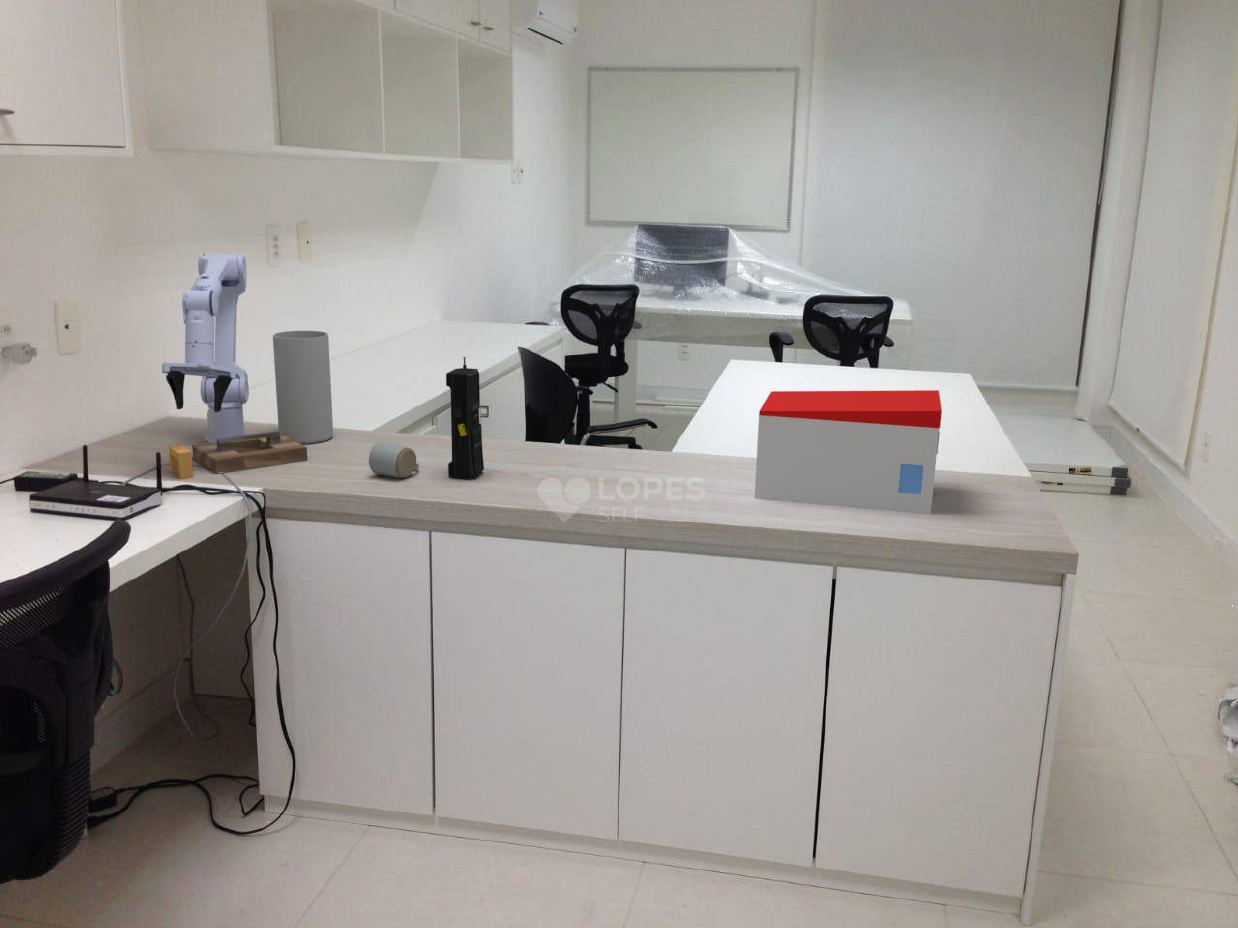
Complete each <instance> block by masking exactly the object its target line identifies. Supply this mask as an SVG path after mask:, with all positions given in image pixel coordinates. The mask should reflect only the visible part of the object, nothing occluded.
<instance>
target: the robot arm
mask: <svg viewBox="0 0 1238 928" xmlns="http://www.w3.org/2000/svg"><path fill="white" fill-rule="evenodd" d="M197 261H198V262H197V269H198V275H199V276H197V278H195V281H194V283H193V285H192V287H191V289H190V290H186V292H183V294H182V295H181V296H182V297H181V306H182V308H181V309H182V313H183V314H182V317H183V319H182V320H183V324H185V329H184V330H185V332H184V333H185V336H184V339H185V340H184V363H183V362H182V363H181V362H166V361H165V362H163V363H162V364H161V373H162V374H166V375H165V379H166V381H167V383H168V386H169V387H170V390H171V392H172V394H173V398H174V401H175V406H176V410H182V409H184V385H185V377H186V376H197V377H202V378H201V382H200V397H201V402H203V403H204V404H205V405H207V410H206V420H207V432H208V433H207V434H208V437H204V440H205V441H206V442H207V443H208V442H215V441H217V438H223V437H230V436H238V435H246V433H245V423H244V409H243V408H244V407H243V405H246V403H247V402H248V401H249V395H250V389H249V381H248V379H249V377H248V374H247V372H246V370H245V369H244V368H243V367H241V366H239V365H238V364H237V363H236V362H237V361H236V357H237V356H236V355H237V354H236V349H237V347H236V346H237V345H236V344H237V311H238V309H237V308H238V307H237V305H238V300H239V296H240V295H242V294H243V293H245V292H246V287H247V274H248V273H247V271H248V270H247V260H246V258H245V255H244V254H242V253H237V254H236V253H233V254H232V253H231V254H230V253H204V252H202V253H201V254H200V255H199V256H198V260H197Z"/></svg>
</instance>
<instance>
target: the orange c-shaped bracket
mask: <svg viewBox="0 0 1238 928" xmlns="http://www.w3.org/2000/svg"><path fill="white" fill-rule="evenodd" d="M167 449H168V458H169V468H170V470H169V471H170V472H171V473H176V472H178V477H179V478H178V479H180V480H183V479H191V478H194V469H193V455H192V451H191V450H189V449H188V448H186V447H184V446H183V445H182V444H172V445H168V446H167Z"/></svg>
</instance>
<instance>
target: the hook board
mask: <svg viewBox="0 0 1238 928" xmlns="http://www.w3.org/2000/svg"><path fill="white" fill-rule="evenodd" d="M191 448H192V449H191V450H192V451H191V452H192V459H194V460H196V461H197V462H199V463H200V464H202V465H203V466H205V467H206V468H207V469H208V470H210V469H212V470H211V471H212V472H213V473H214V474H216V475H219V473H218V472H223V473H222V474H225V473H226V474H227V473H232V472H240V471H247V470H252V469H260V468H267V467H272V466H278V465H279V466H280V465H285V464H291V463H293V464H295V463H299V462H305V461H308V460H309V459H308V447H307V446H305V445H304V444H300V443H298V442H296V441H294V440H292V439H290V438H288V437H286V436H285V435H283V434H281V433H280V432H279V430H270V431H269V430H268V431H264V432H263V431H261V432H254V433H247V434H246V433H245V435H238V436H230V437H223V438H217V441H215V442H208V441H207V442H202V443H201V442H200V443H193V444H192V445H191Z"/></svg>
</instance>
